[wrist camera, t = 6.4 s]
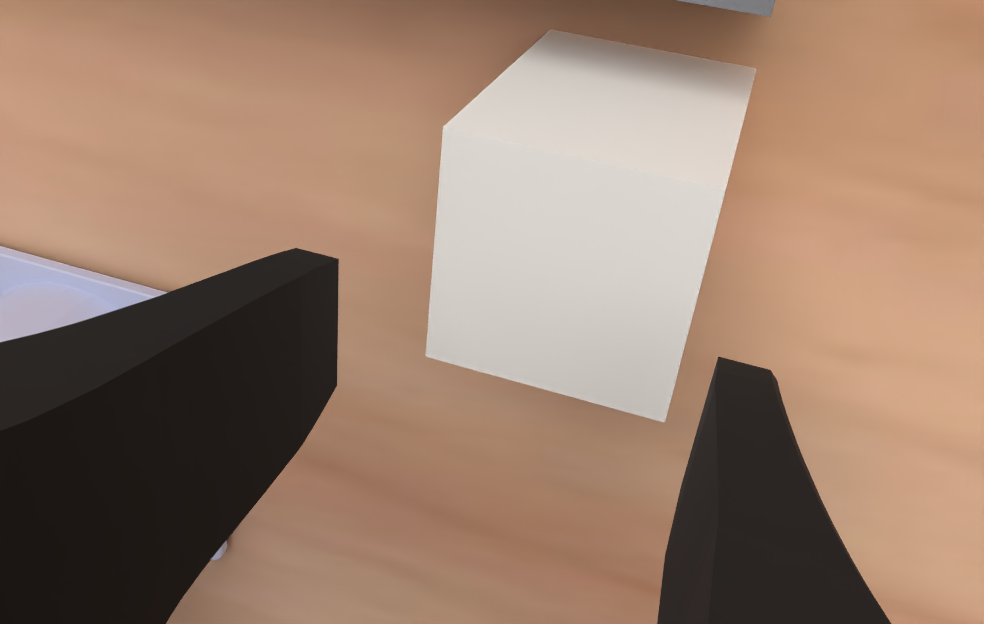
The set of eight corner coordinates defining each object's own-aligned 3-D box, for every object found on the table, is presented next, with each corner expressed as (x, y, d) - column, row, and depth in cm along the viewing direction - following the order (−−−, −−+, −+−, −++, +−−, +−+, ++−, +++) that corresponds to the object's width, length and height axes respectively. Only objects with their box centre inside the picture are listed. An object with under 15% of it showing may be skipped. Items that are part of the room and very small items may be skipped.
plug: (708, 255, 19) (664, 422, 14) (526, 212, 20) (425, 356, 15) (756, 68, 17) (726, 188, 12) (550, 28, 18) (443, 126, 13)
